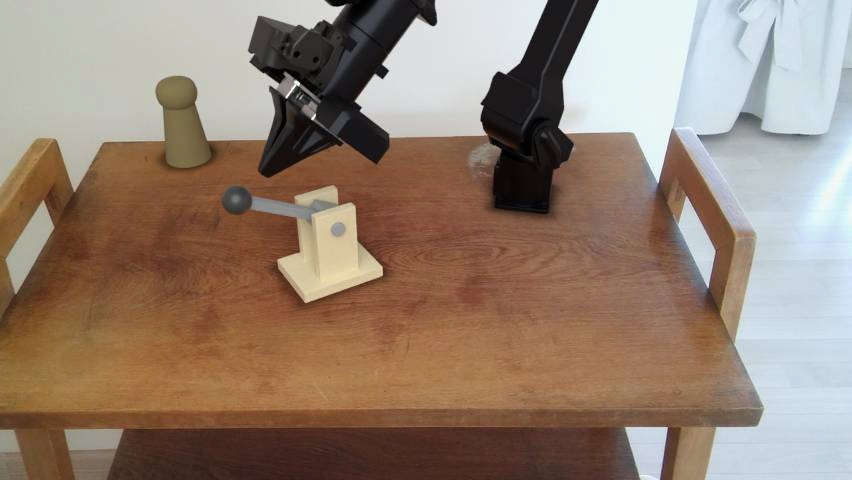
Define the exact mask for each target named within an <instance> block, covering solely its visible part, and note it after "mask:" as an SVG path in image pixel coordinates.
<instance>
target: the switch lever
mask: <svg viewBox="0 0 852 480" xmlns="http://www.w3.org/2000/svg"><path fill="white" fill-rule="evenodd" d="M221 205H222V207H223V209H224V210H225V211H226V212H227V213H228V214H230V215H233V216H242V215H244V214H246V213H247V212H249V210H250V211H251V210H252V211H257V212H262V213H268V214H273V215H280V216H284V217H285V216H286V217H289V218H296V219H297V218H301V219H306V221H307V222H308V223H309V224H310V225H311V226H312V217H311V214H314V213H317V212H321V211H324V210H327V209H330V208H334V207H337V206H339V204H338V205H337V204H336V203H331V202H326V201H321V200H316V199H314V201H313V203H312V205H311V207H307V206H302V205H296V204H295V203H290V202H285V201H281V200H274V199H270V198H265V197H258V196H254V195H252V193H251V191H250V190H249V189H248V188H246V187H245V186H244V185H241V184H232V185H230V186H228V187H227V188H226V189H224V191H223V192H222V195H221Z"/></svg>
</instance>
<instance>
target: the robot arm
mask: <svg viewBox="0 0 852 480" xmlns="http://www.w3.org/2000/svg"><path fill="white" fill-rule="evenodd" d="M323 1H324V2H325V3H326V4H327V5H329V6H330V7H334V8H339V7H342V9H341V10H340V12H339V13H338V15H337V16H336V17H335V19H334V20H333V21H332V23H330V22H329V21H327V20H325V19H322V21H321V20H320V21H319V20H318V22H317V23H316V24H315V26H314V27H313V28H312V27H311V28H310V29H309V28H307V27H305V26H304V25H302V24H297V25H294V24H290V23H287V22H284V21H280V20H277V19H273V18H271V17H268V16H264V15H257V18H256V20H255V25H254V27H253V31H252V34H251V37H250V41H249V45H248V47H247V52H248V53H249V54H252V55H253V56H251V58H250V60H249V62H248V63H250V64H251V65H252V66H253V67H254V68H255V69H256V70H258V71H259V72H260V73H261V74H265V75H266V76H268V77H269V78H270V79H272V80H273V81H274V82H275V83H277V84H278V85H277V87H276V88H274V86H272V85H269V86H268V92H269V93H270V94H271V95H270V96H271V98H272V103H273V107H274V115H273V119H272V123H271V127H270V130H269V133H268V136H267V138H266V142H265V145H264V148H263V151H262V155H261V158H260V160H259V163H258V167H257V172H258V173H259V174H260V175H261V176H263V177H264V178H265V179H270V178H272V177H274V176H276V175H277V174H280V173H281V172H283V171H285V170H287V169H289V168H291V167H292V166H295V165H296V164H299V163H300V162H302V161H303V160H305V159H308V158H310V157H312V156H314V155H316V154H319V153H321V152H323V151H325V150H327V149H330V148H333V147H334V146H338V147H342V146H343V145H344V144H347V145H348V146H349V147H351V149H353V150H355V151H356V152H358V154H360V155H362V156H363V157H364V158H366V159H367V160H369V161H370V162H372V163H373V164H374V165H378V164H379V163H380V161H381V160H382V159H383V157H384V156H385V155H386V153H387V152H388V151H389V149H390V148H391V147H390V146H391V145H390V143H391V141H390V133H389V132H388V131H386V130H385V129H384V128H382V127H381V126H380V125H378V124H377V123H376V122H375V121H373V120H372V119H371V118H370V117H368V116H367V115H366V114H365V113H363V112H362V111H361V110H362V109H363V107H362V106H361V105H360V104H359V103H357V102H356V101H357V100H358V98H359V96H360V95H361V94H362V92H363V91H364V90H365V89H366V88H367V86H368V84H369V83H370V82H371V80H372V79H373V78H374V76H376V77H378V78H380V79H381V80H384V79H385V77H386V76H387V75H388V74H389V72H390V69H389V68H388V67H386V66H385V65H383V64H384V63H385V61H386V60H387V59H388V57H389V55H390V54H391V53H392V52H393V51H394V49H395V47H396V46H397V45H398V43H400V41H401V39H402V38H403V37H404V35H405V34H406V32H407V31H408V30H409V29H410V27H411V26H412V24H414V21H416V19H418V20H419V21H420V22H421V21H422V22H423V23H425V24H427V25H429V26H430V27H435V26H437V24H438V13H437V9H436V0H323ZM599 2H600V0H547V2H546V3H545V5H544V7H543V10H542V12H541V14H540V17H539V20H538V22H537V24H536V26H535V29H534V30H533V33H532V35H531V37H530V40H529V42H528V44H527V47H526V49H525V51H524V54H523V56H522V58H521V60H520V62H519V63H518V64H517V65H516V66H514V67H513V68H511V69H510V70H508V72H507V73H504V72H502V71H500V70H498V71H496V72H495V73H494V75H493V76H492V78H491V82H490V86H489V88H488V91H487V93H486V95H485V97H484V98H483V99H482V100H481V102H480V105H481V106H482V110H481V113H480V118H479V121H480V123H481V125H482V130H483V131H484V133H485V134H486V135H487V138H488V141H489V144H490V145H492V146H494V147H496V148H498V149H500V154H499V155H498V156H496V158H495V162H494V165H493V175H492V177H493V178H492V189H491V191H492V192H491V194H492V196H493V197H494V201H493V207H494V208H495V209H501V210H509V211H518V212H519V211H520V212H528V213H535V214H544V215H545V214H546V215H547V214H549V213H550V210H551V203H552V196H553V191H554V184H553V180H554V172H555V170H558V169H560V167H561V165H562V164H563V163H565V162H568V161H569V159H570V156H571V154H572V151H573V148H574V145H575V144H574V142H573V140H571V139H570V137H569V136H568V135H567V134H566V133H565V132H564V131H563V130H562V129H561V128H559V126H560V124H561V121H562V118H563V114H564V111H565V97H564V95H565V94H564V78H565V76H566V73H567V71H568V69H569V67H570V65H571V62H572V60H573V58H574V56H575V54H576V52H577V49H578V47H579V45H580V43H581V40H582V39H583V37H584V34H585V32H586V30H587V28H588V25H589V23H590V21H591V19H592V17H593V15H594V12H595V10H596V8H597V6H598V4H599Z"/></svg>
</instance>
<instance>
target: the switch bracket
mask: <svg viewBox="0 0 852 480" xmlns="http://www.w3.org/2000/svg"><path fill="white" fill-rule="evenodd" d="M314 199H316V200H321V201H326V202H331V203H336V204H337V205H338V206H337V207H334V208H330V209H327V210H324V211H321V212H317V213H314V214H311V217H312V226H311V225H310V224H309V223H308V222H307V221H306V219H301V218H296V225H297V234H298V244H299V252H297V253H296V252H295V253H293V254H289V255H287V256H284V257H281V258H278V259H276V260H277V261H276V262H277V268H278V270H279V271H280V273H281V274H282V275H283V276H284V278H285V279H286V280H287V281H288V283H289V284H290V285H291V287H292V288H293V289H294V291H295V292H296V293H297V295H298V296H299V297H300V298H301V300H302V301H303V302H304V303H305V304H307V303H311V302H313V301H316V300H319V299H322V298H324V297H327V296H330V295H333V294H335V293H340V292H341V291H344V290H347V289H350V288H352V287H355V286H358V285H361V284H364V283H367V282H369V281H373V280H376V279H378V278H381V277H383V276H384V267H383V266H382V265H381V264H380V262H379V261H377V259H375V257H374V256H373V255H372V254H371V253H370V252H369V251H368V250H367V249H366V248H365V247H364V246H363V245H362V244H361V243H360V242H359V241H358V229H357V227H358V226H357V207H356V205H355V204H354V203H352V202H347V203H344V204H340V205H339V192H338V188H337V187H336V186H335V185H334V184H332V185H328V186H325V187H321V188H317V189H314V190H312V191H308V192H303V193H300V194H297V195H294V204H296V205H302V206H307V207H311V205H312V203H313V201H314Z"/></svg>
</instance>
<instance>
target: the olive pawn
mask: <svg viewBox="0 0 852 480" xmlns="http://www.w3.org/2000/svg"><path fill="white" fill-rule="evenodd" d="M198 93H199V92H198V88H197V85H196V83H195V82H194V80H193V79H192V78H190V77H188V76H185V75H172V76H167V77H165V78H162V79H161V80H160V81H158V82H157V84H156V86H155V93H154V94H155V97H156V100H157V102H158V104H159V105H160V106H161V107H162V117H163V118H162V119H163V133H164V134H163V135H164V146H165V147H164V150H165V161H166V163H167V165H169V166H171V167H174V168H177V169H178V168H179V169H188V168H195V167H198V166H201V165H204V164H205V163H207V162H208V161H209V160H210V159H212V152H211V148H210V145H209V141H208V139H207V135H206V133H205V129H204V126H203V123H202V121H201V117H200V114H199V111H198V107H197V104H196V102H197V100H198Z"/></svg>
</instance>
